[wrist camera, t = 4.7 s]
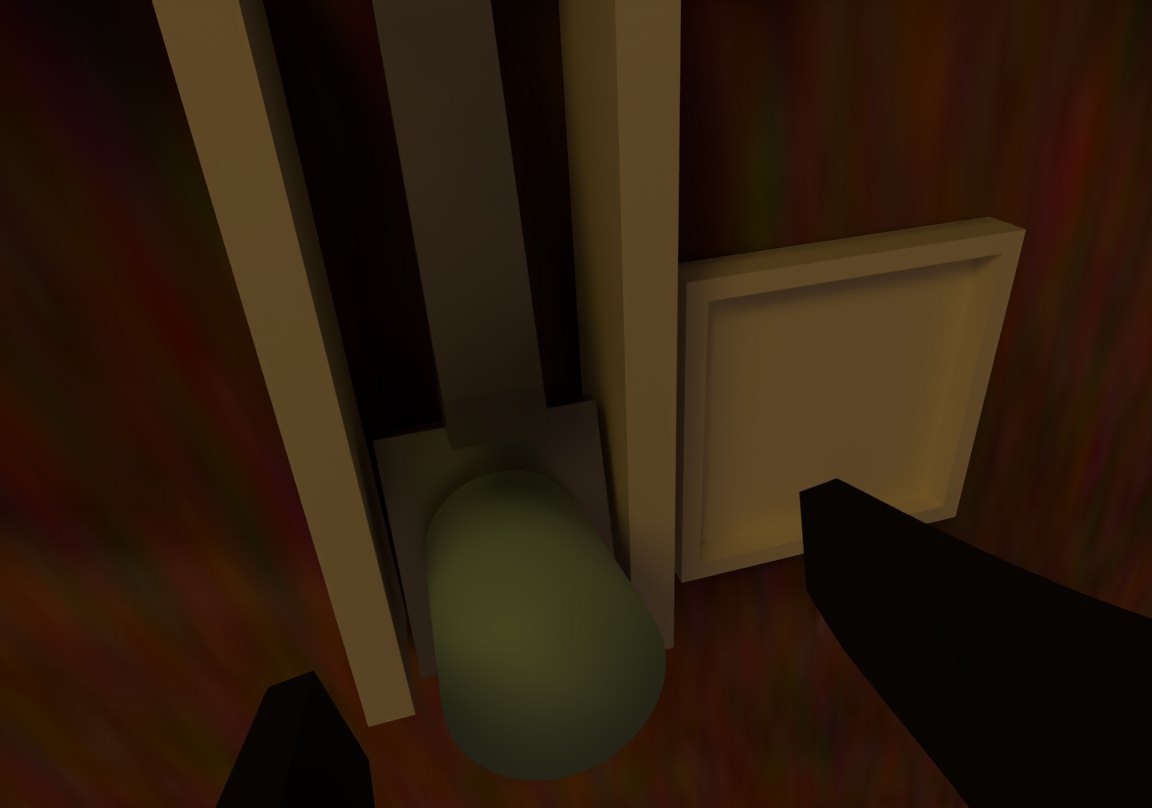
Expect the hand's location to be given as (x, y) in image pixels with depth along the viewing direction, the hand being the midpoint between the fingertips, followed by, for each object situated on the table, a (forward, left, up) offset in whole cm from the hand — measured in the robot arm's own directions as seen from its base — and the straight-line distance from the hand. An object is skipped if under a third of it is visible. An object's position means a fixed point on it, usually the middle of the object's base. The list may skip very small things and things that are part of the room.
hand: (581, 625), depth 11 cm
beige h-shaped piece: (0, -1, -10) cm, 10 cm away
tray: (-10, +4, -10) cm, 15 cm away
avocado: (0, +4, -7) cm, 8 cm away
